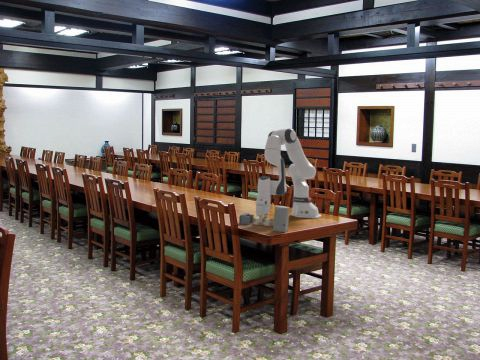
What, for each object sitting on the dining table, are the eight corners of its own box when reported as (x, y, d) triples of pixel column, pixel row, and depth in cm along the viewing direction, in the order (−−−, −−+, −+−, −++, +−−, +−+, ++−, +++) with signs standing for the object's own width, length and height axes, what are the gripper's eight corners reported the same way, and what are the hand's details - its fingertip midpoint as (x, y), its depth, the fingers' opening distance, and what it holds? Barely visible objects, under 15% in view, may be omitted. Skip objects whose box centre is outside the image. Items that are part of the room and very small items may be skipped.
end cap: (253, 222, 349) (253, 213, 349) (249, 224, 341) (249, 215, 340) (243, 221, 352) (244, 212, 351) (239, 223, 343) (239, 214, 343)
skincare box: (272, 231, 322) (273, 206, 320) (276, 229, 328) (277, 205, 327) (285, 232, 319) (286, 207, 317) (289, 230, 325) (289, 206, 323)
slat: (252, 224, 343) (252, 218, 343) (254, 223, 347) (254, 217, 346) (272, 226, 338) (272, 219, 337) (274, 225, 342) (274, 218, 341)
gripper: (264, 198, 351) (263, 217, 353) (254, 202, 332) (254, 222, 334) (272, 198, 349) (272, 218, 351) (263, 202, 330) (263, 223, 332)
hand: (263, 220), depth 342 cm, fingers open, 8 cm apart
